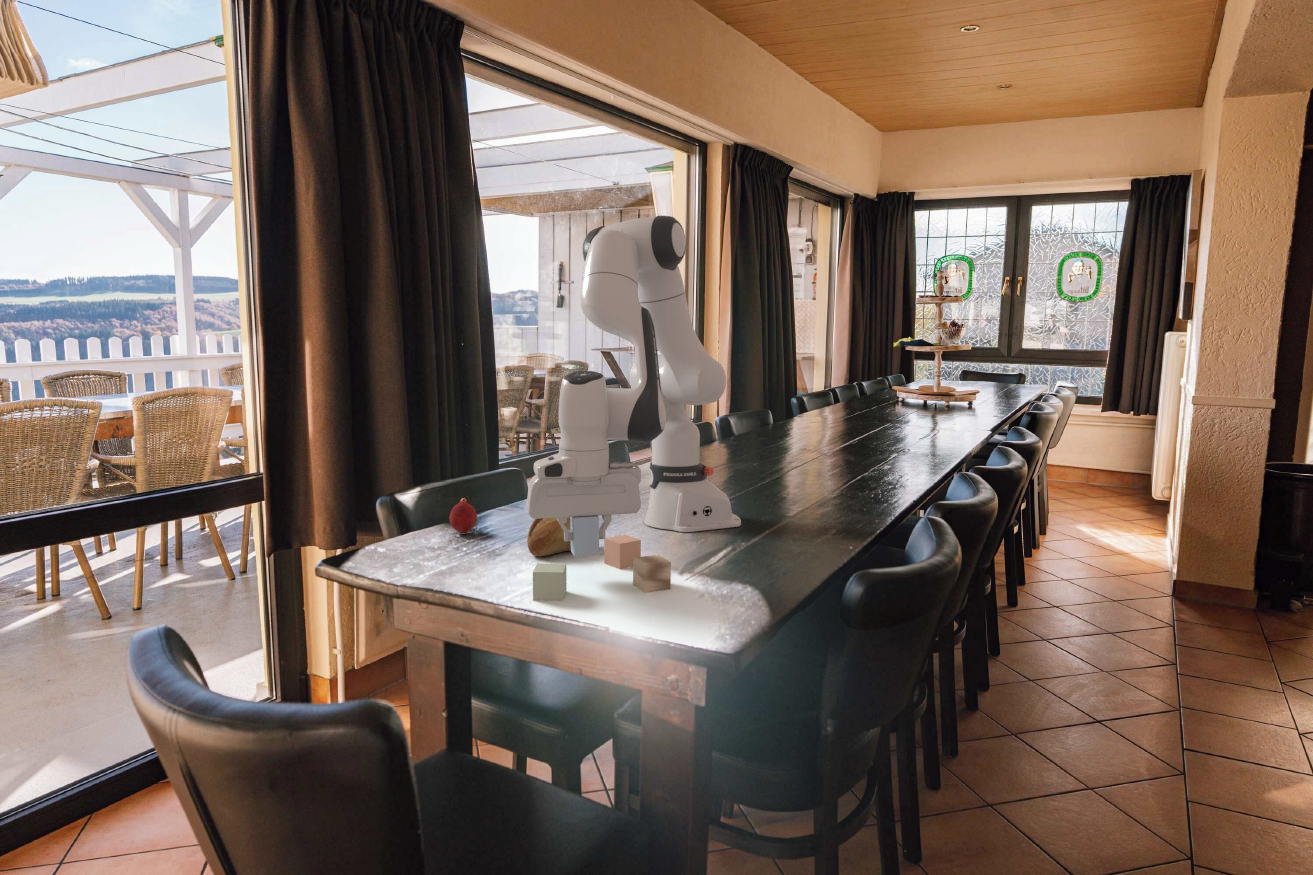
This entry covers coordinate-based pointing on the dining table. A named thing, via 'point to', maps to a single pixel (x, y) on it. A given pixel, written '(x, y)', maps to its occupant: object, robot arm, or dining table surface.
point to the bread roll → (547, 537)
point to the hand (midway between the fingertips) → (584, 539)
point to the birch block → (651, 573)
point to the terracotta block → (621, 551)
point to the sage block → (549, 582)
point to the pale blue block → (585, 535)
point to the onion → (463, 517)
